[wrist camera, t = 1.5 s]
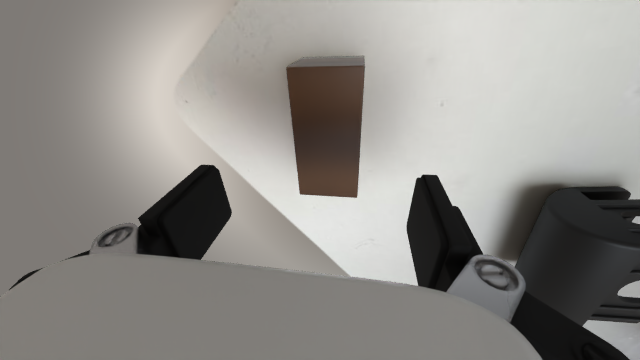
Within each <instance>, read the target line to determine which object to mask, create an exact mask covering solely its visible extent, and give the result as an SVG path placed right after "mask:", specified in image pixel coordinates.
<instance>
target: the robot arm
mask: <svg viewBox="0 0 640 360" xmlns="http://www.w3.org/2000/svg"><path fill="white" fill-rule="evenodd" d="M231 213H232V212H231V208H230V204H229V201H228V198H227V195H226V191H225V188H224V185H223V182H222V179H221V175H220V172H219V170H218V169H217V168H216V167H215V166H214V165H200V166H199V167H198V168H197V169H195V170H194V171H193V172H192V173H191V174H190V175H188V176H187V177H186V178H185V179H184V180H182V181H181V182H180V183H179V184H178V185H177V186H176V187H174V188H173V189H172V190H171V191H170V192H168V193H167V194H166V195H165V196H164V197H162V198H161V199H160V200H159V201H158V202H157V203H155V204H154V205H153V206H152V207H151V208H150V209H148V210H147V211H146V212H145V213H144V214H143V215H141V216H140V217H139V218H138V219H139V221H140V223H141V225H140V226H139V227H137V225H135V224H133V223H124V224H119V225H116V226H114V227H111V228H109V229H107V230H105V231H104V232H102V233H101V234H100V235H98V236H97V237H96V238H95V240H94V241H93V243H92V246H91V249H90V250H89V251H87V252H84V253H81V254H78V255H76V256H73V257H70V258H68V259H65V260H62V261H60V262H57V263H54V264H51V265H49V266H47V267H44V268H41V269H39V270H36V271H33V272H30V273H28V274H27V275H25V276H23V277H22V278H21V279H20V280H18V282H17V283H16V284H14V285H13V286H12V287H11V288H10V289H9V291H8V292H7V293H5V294H4V295H2V296H0V360H630V359H628V358H627V357H626V356H625V355H624V354H623V353H622V352H621V351H619V350H618V349H616V348H615V347H614V346H612V345H611V344H609V343H608V342H606V341H605V340H603V339H601V338H600V337H598V336H597V335H595V334H593V333H592V332H590V331H589V330H587V329H585V328H584V327H582V326H581V325H579V324H577V323H576V322H574V321H572V320H571V319H569V318H568V317H566V316H564V315H563V314H561V313H560V312H558V311H556V310H555V309H553V308H552V307H550V306H548V305H547V304H545V303H543V302H542V301H540V300H539V299H537V298H535V297H534V296H532V295H531V294H529V293H527V292H526V291H525V287H526V283H525V280H524V278H523V276H522V275H521V274H520V272H519V271H518V270H517V269H516V268H515V267H513V266H512V265H511V264H509V263H508V262H506V261H504V260H502V259H500V258H498V257H495V256H491V255H483V253H482V251H481V249H480V247H479V245H478V243H477V242H476V240H475V238H474V236H473V234H472V232H471V230H470V228H469V226H468V224H467V222H466V221H465V219H464V217H463V215H462V213H461V211H460V209H459V208H458V207H456V206H452V204H451V202H450V200H449V198H448V196H447V194H446V192H445V190H444V188H443V186H442V184H441V182H440V180H439V178H438V176H437V175H422V176H421V178H417V179H416V184H415V188H414V193H413V198H412V202H411V207H410V212H409V217H408V221H407V234H408V239H409V244H410V248H411V253H412V258H413V262H414V267H415V272H416V277H417V281H418V286H415V285H409V284H403V283H396V282H388V281H381V280H373V279H365V278H358V277H349V276H341V275H332V274H323V273H314V272H306V271H297V270H288V269H279V268H270V267H261V266H252V265H243V264H234V263H224V262H215V261H206V260H201V259H202V257H203V256H204V254H205V253H206V252H207V250H208V248H209V247H210V246H211V244H212V243H213V241H214V240H215V239H216V237H217V236H218V234H219V233H220V231H221V230H222V229H223V227H224V226H225V224H226V223H227V222H228V220H229V219H230V217H231Z"/></svg>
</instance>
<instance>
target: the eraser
mask: <svg viewBox="0 0 640 360" xmlns="http://www.w3.org/2000/svg"><path fill="white" fill-rule="evenodd" d="M286 70H287V79H288V88H289V98H290V107H291V116H292V125H293V135H294V144H295V153H296V162H297V172H298V181H299V190H300V194H304V195H320V196H337V197H354V198H356V197H357V193H358V176H359V158H360V141H361V123H362V106H363V89H364V71H365V60H364V56H337V57H303V58H301V59H300V60H298V61H297V62H295V63H293V64H292V65H290V66H288V67H287V68H286Z"/></svg>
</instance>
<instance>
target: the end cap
mask: <svg viewBox="0 0 640 360" xmlns="http://www.w3.org/2000/svg"><path fill="white" fill-rule="evenodd" d="M630 195H631V193H630V192H628V191H627V190H625V189H624V188H621V187H586V188H565V189H559V190H557V191H556V192H554V193H552V194H551V195H550V196H548V198H547V200H546V201H545V204H544V206H543V208H542V210H541V212H540V214H539V216H538V219H537V221H536V223H535V225H534V227H533V229H532V231H531V233H530V236H529V238H528V240H527V242H526V244H525V246H524V248H523V250H522V253H521V255H520V257H519V259H518V261H517V263H516V265H515V268H516V269H517V270H518V271H519V272H520V274H521V275H522V276H523V278H524V280H525V283H526V287H525V291H526V292H527V293H529V294H531V295H532V296H534V297H535V298H537V299H539V300H540V301H542V302H543V303H545V304H547V305H548V306H550V307H552V308H553V309H555V310H556V311H558V312H560V313H561V314H563V315H564V316H566V317H568V318H569V319H571V320H572V321H574V322H576V323H577V324H579V325H581V326H583V325H584V324H585V322H586V321H587V320H598V321H612V322H626V323H639V322H640V298H633V297H622V296H618V295H617V293H618V291H619V290H620V289H621V288H622V287H624V286H625V285H627V284H629V283H632V282H635V281H639V280H640V224H636V223H632V220H633V219H634V218H635V216H640V200H628V199H629V198H630Z"/></svg>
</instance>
